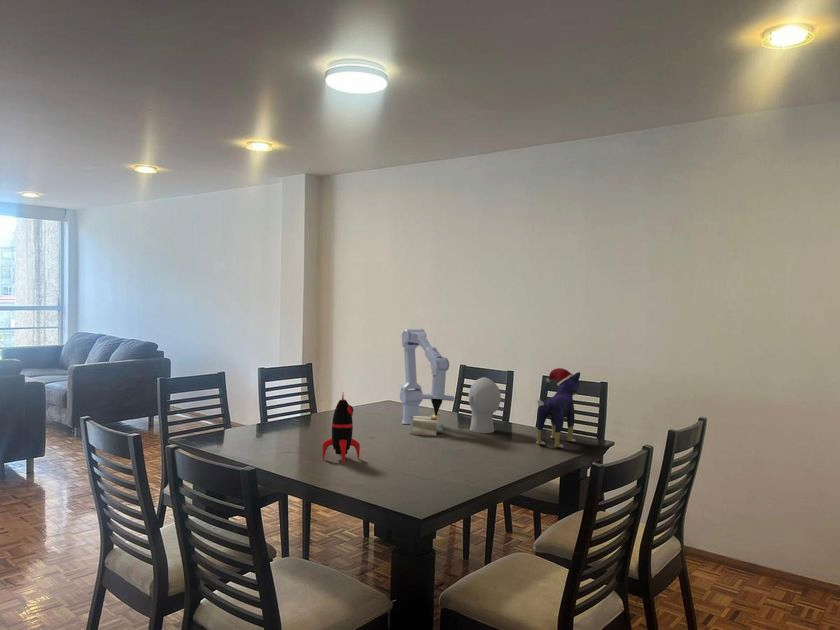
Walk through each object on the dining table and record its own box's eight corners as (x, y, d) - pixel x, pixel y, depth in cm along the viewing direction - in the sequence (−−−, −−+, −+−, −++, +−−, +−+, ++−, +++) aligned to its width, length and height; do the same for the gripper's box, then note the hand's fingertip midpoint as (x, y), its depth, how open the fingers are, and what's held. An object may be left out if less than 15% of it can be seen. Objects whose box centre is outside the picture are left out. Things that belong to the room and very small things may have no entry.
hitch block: (412, 429, 277) (413, 415, 276) (435, 430, 277) (435, 416, 277) (412, 434, 267) (413, 420, 266) (436, 435, 267) (436, 421, 267)
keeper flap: (430, 415, 275) (438, 412, 275) (430, 417, 275) (439, 414, 275) (430, 418, 268) (439, 415, 268) (431, 420, 268) (440, 417, 268)
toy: (585, 437, 272) (587, 369, 271) (550, 455, 239) (553, 377, 238) (550, 432, 281) (552, 365, 280) (512, 448, 248) (515, 373, 247)
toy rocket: (342, 464, 216) (344, 392, 215) (320, 459, 222) (322, 389, 221) (361, 459, 224) (363, 389, 224) (339, 454, 230) (341, 386, 229)
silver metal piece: (409, 430, 275) (410, 417, 275) (442, 431, 275) (442, 418, 275) (409, 433, 268) (410, 420, 268) (443, 434, 268) (443, 421, 268)
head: (488, 420, 293) (495, 371, 285) (500, 439, 277) (507, 388, 269) (458, 420, 290) (465, 371, 282) (469, 440, 273) (476, 388, 266)
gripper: (421, 385, 267) (419, 417, 267) (455, 387, 267) (453, 419, 267) (421, 383, 274) (419, 413, 275) (454, 385, 274) (452, 416, 274)
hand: (436, 416), depth 271 cm, fingers closed, pressing on keeper flap
